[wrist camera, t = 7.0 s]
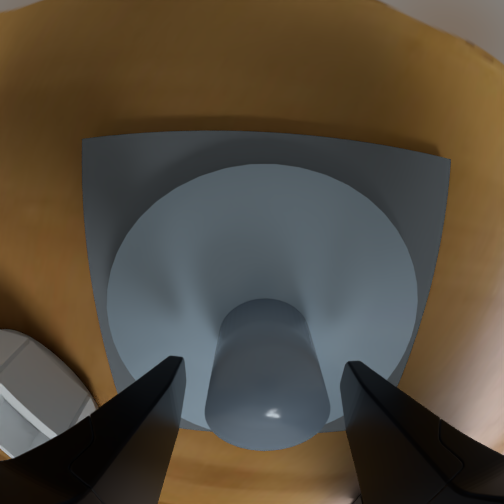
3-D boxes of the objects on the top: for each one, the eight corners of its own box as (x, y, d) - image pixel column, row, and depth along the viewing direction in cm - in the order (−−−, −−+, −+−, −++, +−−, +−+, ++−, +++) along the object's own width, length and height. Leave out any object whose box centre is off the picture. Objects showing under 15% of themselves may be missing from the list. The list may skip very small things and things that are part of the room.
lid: (428, 181, 9) (518, 205, 5) (367, 415, 12) (392, 487, 8) (106, 163, 9) (17, 176, 5) (141, 409, 12) (113, 481, 8)
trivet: (442, 158, 9) (450, 159, 9) (375, 418, 13) (379, 426, 13) (90, 139, 9) (82, 138, 9) (129, 411, 13) (126, 419, 13)
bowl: (82, 340, 12) (39, 394, 8) (125, 457, 15) (109, 503, 11) (-32, 310, 12) (-70, 340, 8) (18, 419, 15) (-4, 452, 11)
